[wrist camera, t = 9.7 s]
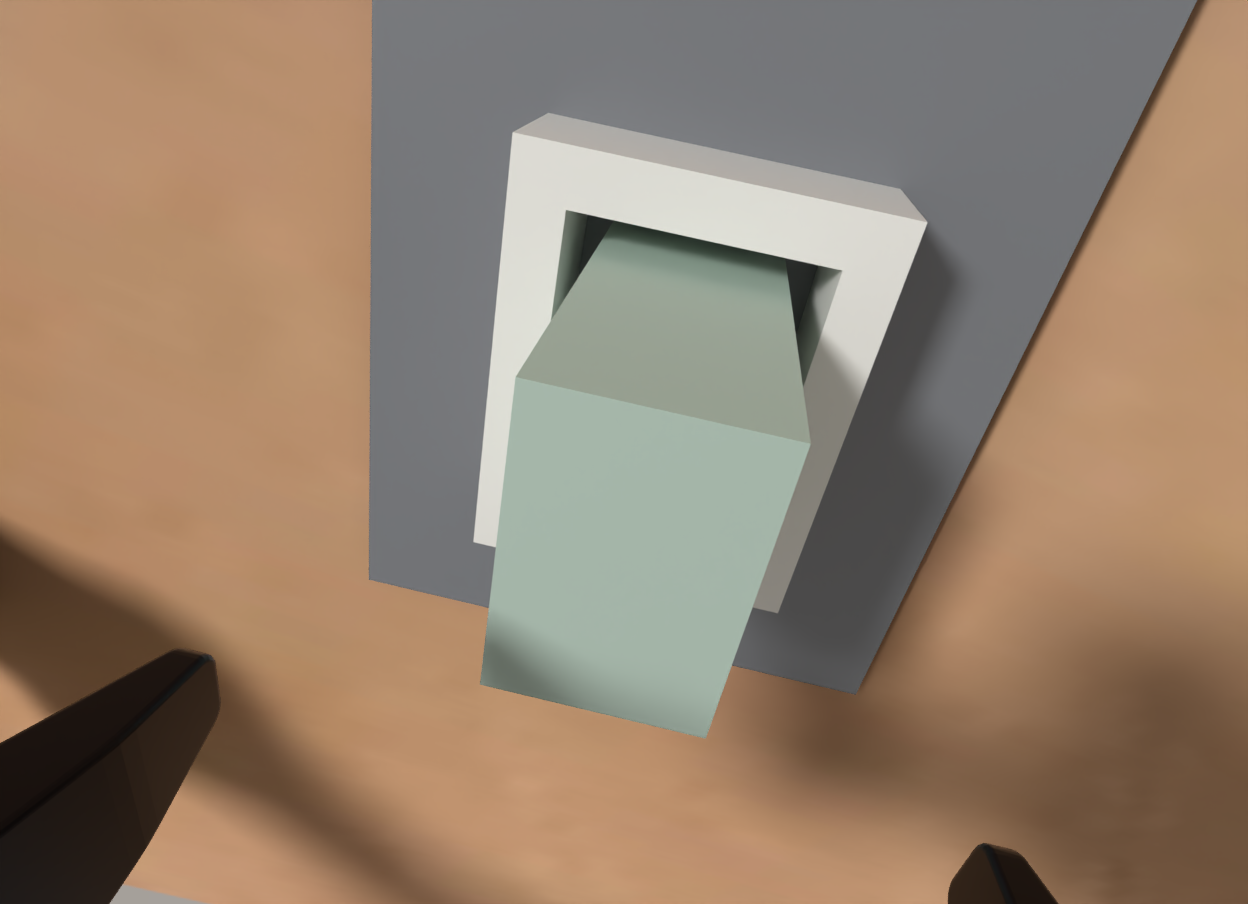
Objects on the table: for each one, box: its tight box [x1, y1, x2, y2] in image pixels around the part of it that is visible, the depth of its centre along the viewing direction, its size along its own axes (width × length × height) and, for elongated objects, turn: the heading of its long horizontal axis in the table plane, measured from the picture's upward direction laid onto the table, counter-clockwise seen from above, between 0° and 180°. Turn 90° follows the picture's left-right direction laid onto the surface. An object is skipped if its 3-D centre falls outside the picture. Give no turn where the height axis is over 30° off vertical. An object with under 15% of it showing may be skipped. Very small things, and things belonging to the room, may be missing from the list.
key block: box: [480, 220, 811, 738], centre depth 16 cm, size 4×6×9 cm, turn 170°
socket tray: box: [369, 0, 1197, 695], centre depth 18 cm, size 20×16×4 cm
